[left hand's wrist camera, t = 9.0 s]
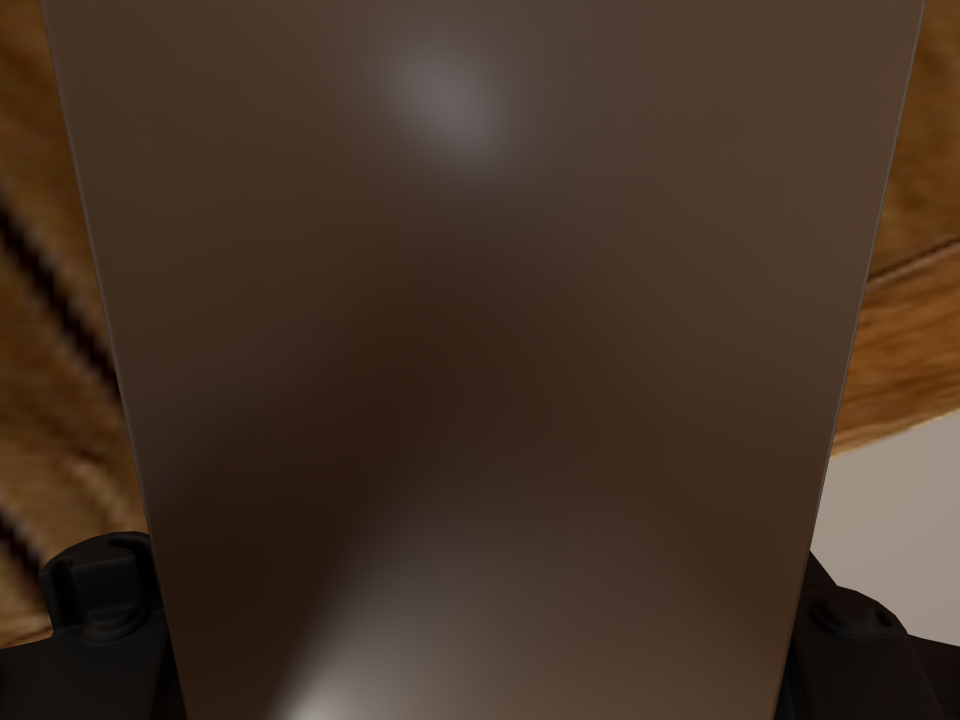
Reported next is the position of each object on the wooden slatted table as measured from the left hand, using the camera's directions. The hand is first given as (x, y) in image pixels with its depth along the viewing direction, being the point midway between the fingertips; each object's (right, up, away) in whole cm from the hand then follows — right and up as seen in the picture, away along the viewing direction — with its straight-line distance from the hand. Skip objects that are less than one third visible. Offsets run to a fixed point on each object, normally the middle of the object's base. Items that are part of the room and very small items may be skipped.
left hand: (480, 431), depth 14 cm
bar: (0, +10, -3) cm, 11 cm away
